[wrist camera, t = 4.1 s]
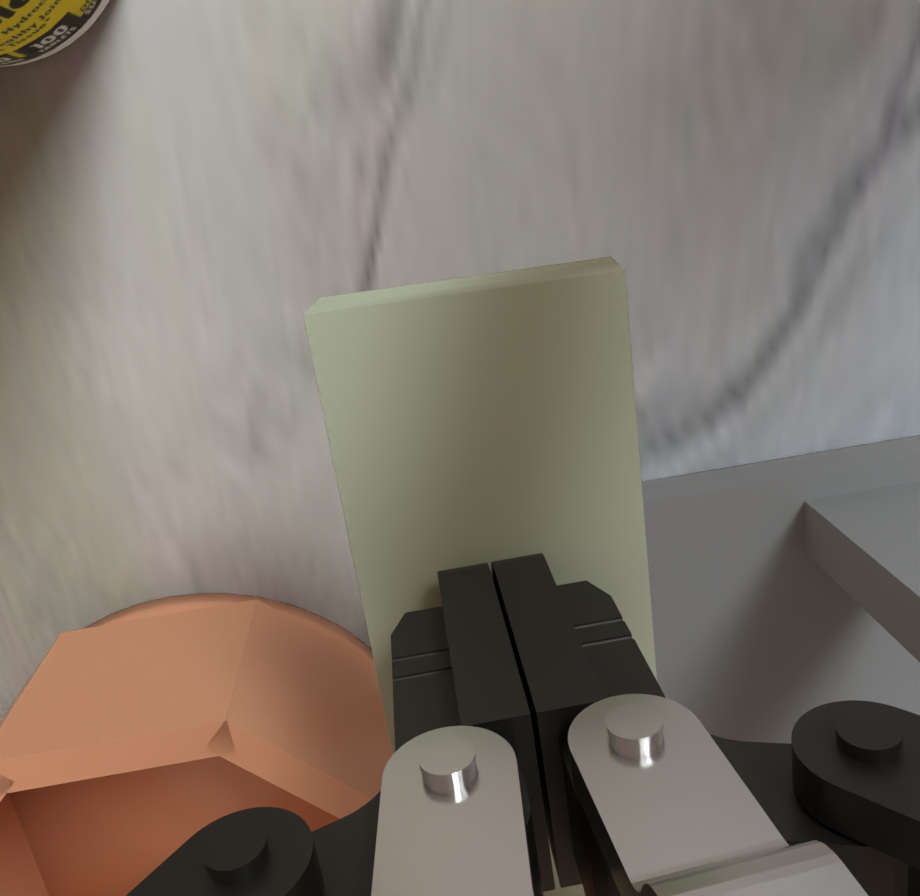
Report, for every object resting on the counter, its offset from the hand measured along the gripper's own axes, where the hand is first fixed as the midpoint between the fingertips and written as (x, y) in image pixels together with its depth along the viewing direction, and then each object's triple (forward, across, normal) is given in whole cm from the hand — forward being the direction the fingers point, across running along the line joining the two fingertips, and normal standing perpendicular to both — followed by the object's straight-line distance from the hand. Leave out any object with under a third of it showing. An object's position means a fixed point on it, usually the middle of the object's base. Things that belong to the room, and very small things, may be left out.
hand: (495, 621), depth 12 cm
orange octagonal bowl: (+11, +8, +10) cm, 16 cm away
